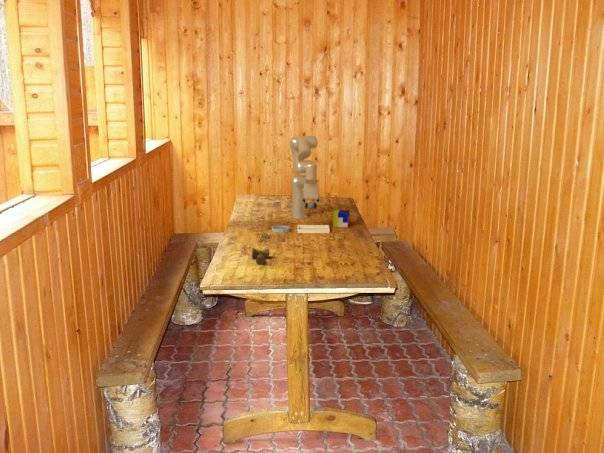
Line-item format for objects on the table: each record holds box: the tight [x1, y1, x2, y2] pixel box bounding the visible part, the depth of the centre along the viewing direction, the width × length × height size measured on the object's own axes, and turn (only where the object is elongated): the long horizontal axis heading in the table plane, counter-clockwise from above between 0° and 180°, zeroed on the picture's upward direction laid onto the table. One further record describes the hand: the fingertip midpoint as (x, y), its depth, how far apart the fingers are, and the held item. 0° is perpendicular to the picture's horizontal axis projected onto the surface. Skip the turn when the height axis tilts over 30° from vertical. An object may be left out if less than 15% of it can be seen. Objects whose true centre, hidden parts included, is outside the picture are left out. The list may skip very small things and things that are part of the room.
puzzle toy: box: [332, 209, 350, 228], centre depth 414 cm, size 10×10×10 cm
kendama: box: [251, 247, 270, 266], centre depth 328 cm, size 6×10×20 cm
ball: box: [307, 201, 315, 211], centre depth 394 cm, size 5×5×5 cm
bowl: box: [271, 225, 291, 234], centre depth 398 cm, size 12×12×2 cm
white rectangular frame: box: [297, 224, 330, 234], centre depth 398 cm, size 13×21×2 cm, turn 90°
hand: (310, 208), depth 395 cm, fingers closed on ball, 4 cm apart
